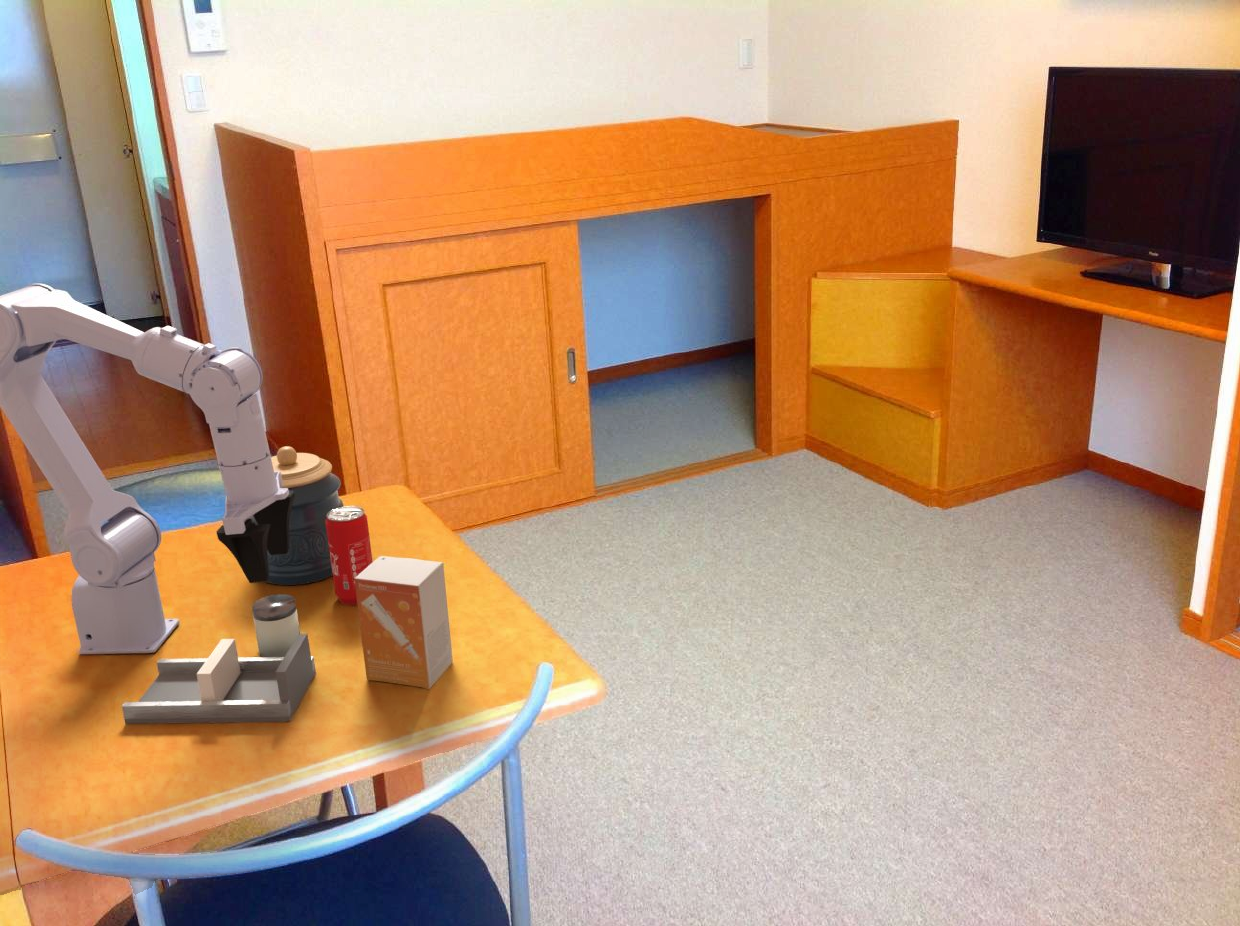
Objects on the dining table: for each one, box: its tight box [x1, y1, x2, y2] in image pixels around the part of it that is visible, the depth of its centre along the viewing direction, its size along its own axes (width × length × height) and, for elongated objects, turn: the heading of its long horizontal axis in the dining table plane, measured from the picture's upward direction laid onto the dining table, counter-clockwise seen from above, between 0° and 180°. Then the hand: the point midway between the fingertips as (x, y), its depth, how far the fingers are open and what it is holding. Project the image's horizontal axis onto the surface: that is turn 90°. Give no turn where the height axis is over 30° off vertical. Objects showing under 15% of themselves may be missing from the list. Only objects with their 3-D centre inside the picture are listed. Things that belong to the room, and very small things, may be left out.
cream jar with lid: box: [251, 593, 301, 657], centre depth 139 cm, size 5×5×6 cm
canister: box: [251, 445, 345, 586], centre depth 158 cm, size 13×13×18 cm
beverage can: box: [326, 505, 374, 606], centre depth 150 cm, size 5×5×12 cm
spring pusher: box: [197, 638, 241, 701], centre depth 129 cm, size 2×8×4 cm, turn 178°
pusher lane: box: [121, 632, 317, 725], centre depth 129 cm, size 18×10×6 cm, turn 88°
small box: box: [355, 555, 453, 690], centre depth 131 cm, size 8×6×13 cm
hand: (269, 566), depth 136 cm, fingers open, 7 cm apart
